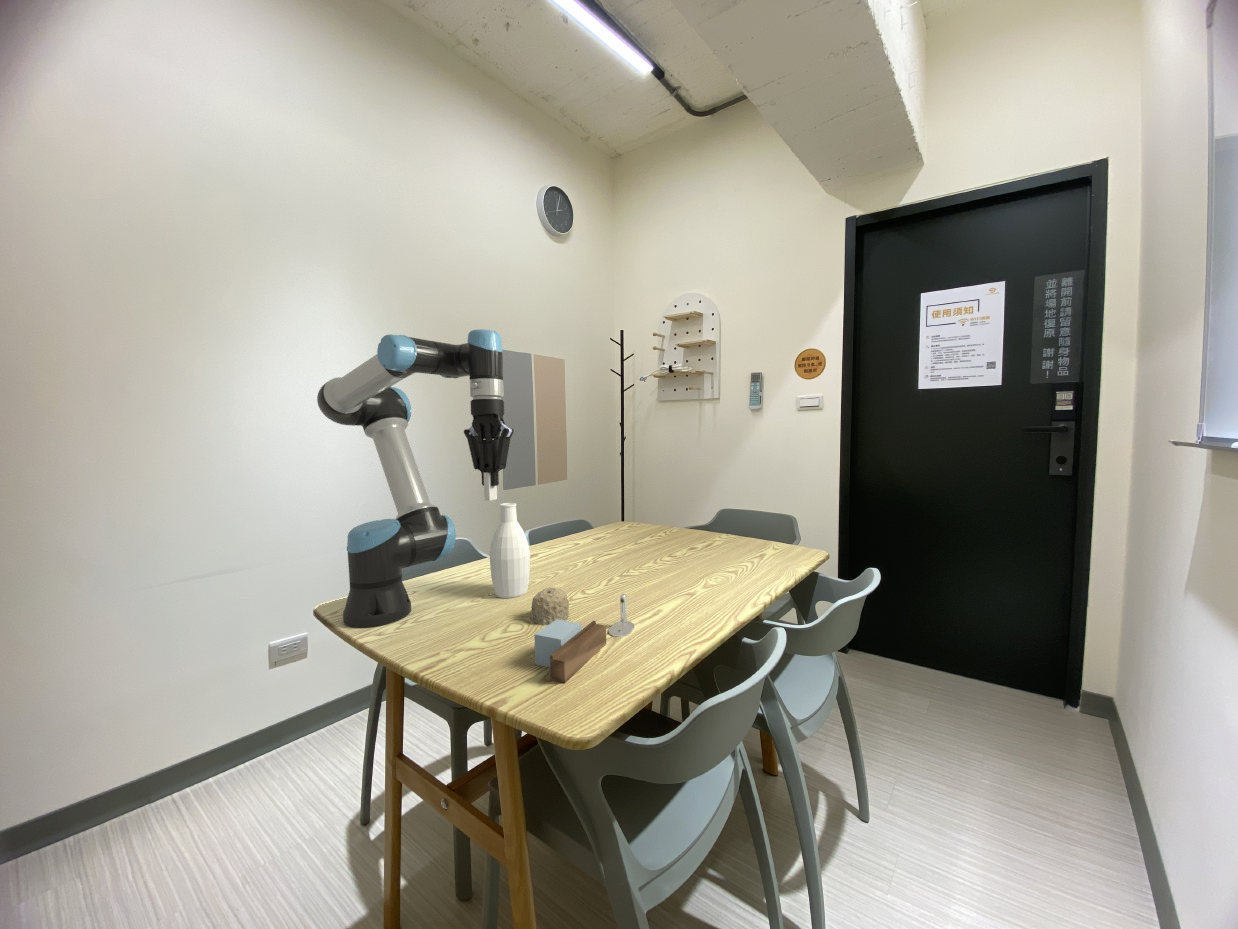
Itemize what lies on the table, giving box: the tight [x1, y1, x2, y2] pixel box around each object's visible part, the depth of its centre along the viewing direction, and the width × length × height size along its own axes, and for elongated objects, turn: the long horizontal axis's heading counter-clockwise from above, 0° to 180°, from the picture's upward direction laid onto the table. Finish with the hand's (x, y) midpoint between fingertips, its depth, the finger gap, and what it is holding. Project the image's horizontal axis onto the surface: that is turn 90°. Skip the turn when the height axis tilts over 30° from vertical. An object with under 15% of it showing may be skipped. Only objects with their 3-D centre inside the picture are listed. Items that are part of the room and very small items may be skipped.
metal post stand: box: [608, 593, 635, 638], centre depth 106 cm, size 8×5×8 cm
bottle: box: [489, 502, 531, 599], centre depth 132 cm, size 11×11×25 cm
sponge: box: [530, 586, 570, 626], centre depth 114 cm, size 9×10×10 cm
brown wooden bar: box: [549, 620, 607, 684], centre depth 92 cm, size 3×17×5 cm, turn 156°
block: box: [534, 619, 583, 668], centre depth 93 cm, size 6×8×6 cm
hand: (490, 499), depth 111 cm, fingers closed
